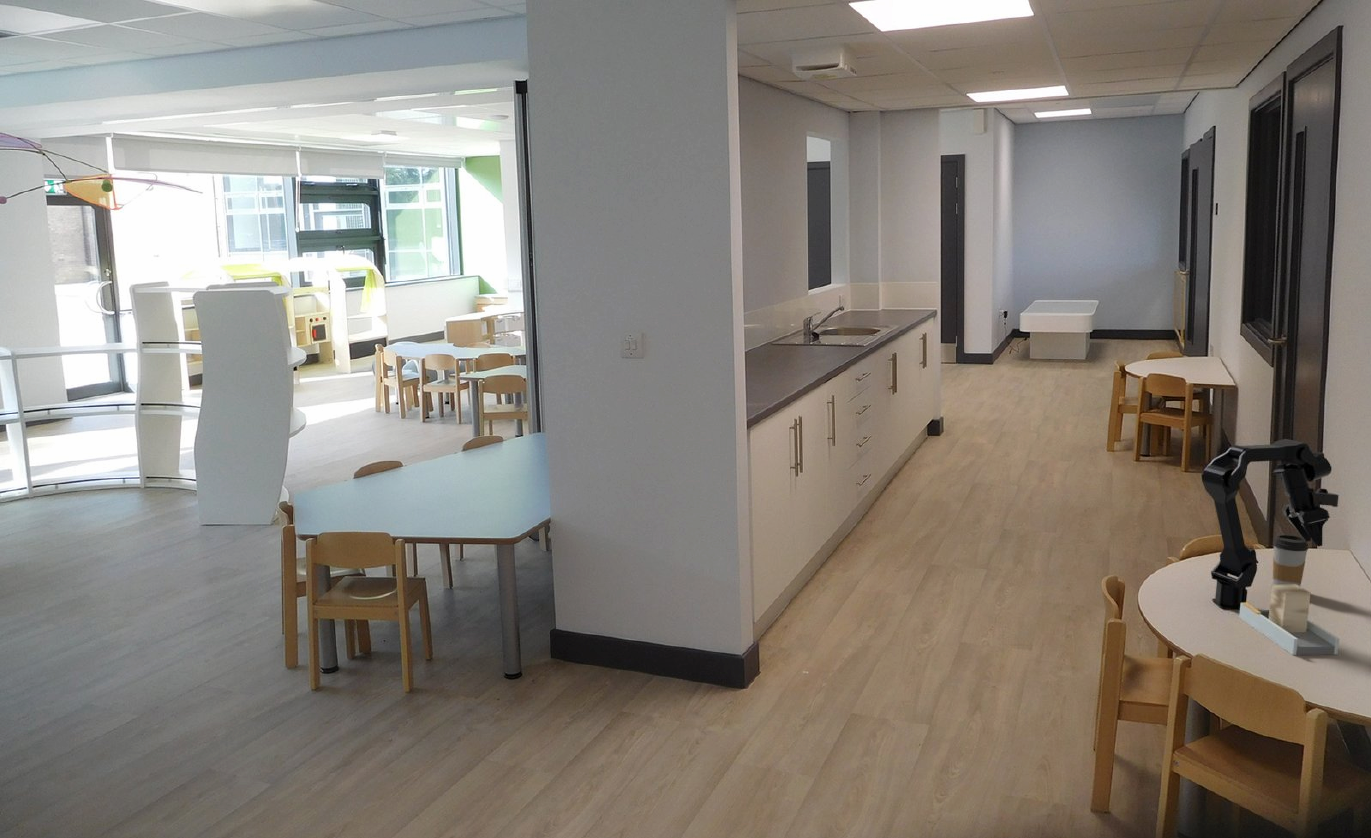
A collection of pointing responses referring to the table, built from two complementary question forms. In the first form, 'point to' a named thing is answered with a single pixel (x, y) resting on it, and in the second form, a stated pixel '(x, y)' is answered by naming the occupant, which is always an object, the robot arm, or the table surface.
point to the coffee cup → (1289, 559)
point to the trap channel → (1291, 634)
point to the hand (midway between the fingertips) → (1314, 543)
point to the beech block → (1289, 607)
